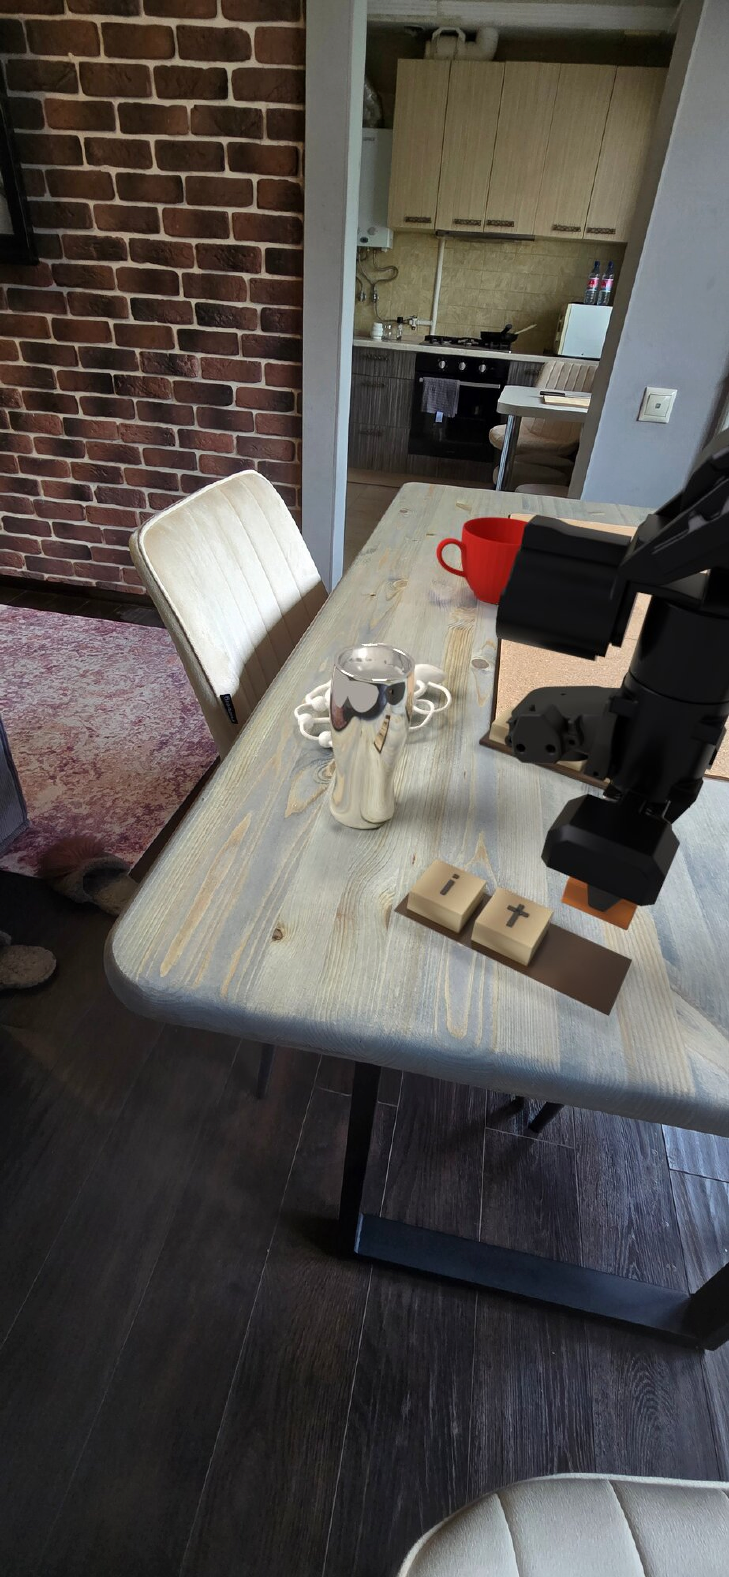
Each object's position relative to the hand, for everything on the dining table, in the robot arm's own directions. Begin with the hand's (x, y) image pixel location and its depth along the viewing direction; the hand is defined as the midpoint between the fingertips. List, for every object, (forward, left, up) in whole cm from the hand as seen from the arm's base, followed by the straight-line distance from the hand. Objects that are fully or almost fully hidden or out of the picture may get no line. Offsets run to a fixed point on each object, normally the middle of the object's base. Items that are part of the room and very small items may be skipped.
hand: (607, 886), depth 49 cm
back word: (+10, -27, -8) cm, 30 cm away
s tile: (0, 0, -1) cm, 1 cm away
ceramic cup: (+36, -63, -8) cm, 73 cm away
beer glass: (+23, -7, -8) cm, 25 cm away
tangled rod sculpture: (+31, -23, -8) cm, 39 cm away
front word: (+5, 0, -8) cm, 10 cm away
